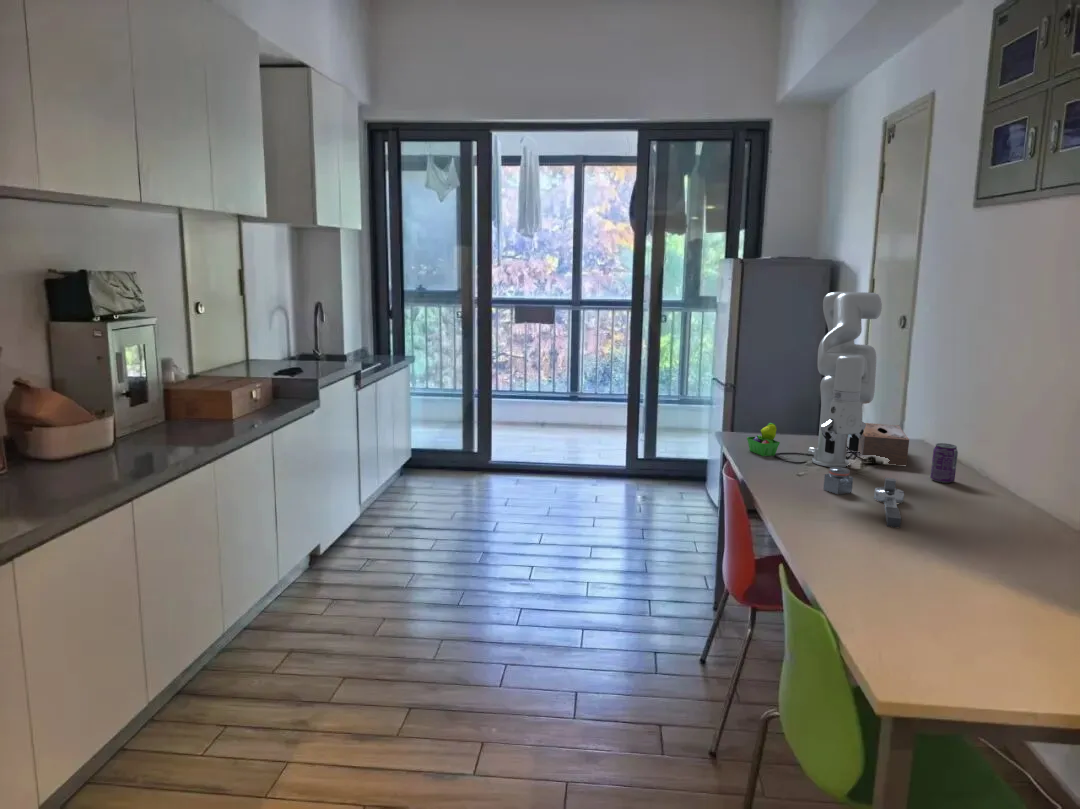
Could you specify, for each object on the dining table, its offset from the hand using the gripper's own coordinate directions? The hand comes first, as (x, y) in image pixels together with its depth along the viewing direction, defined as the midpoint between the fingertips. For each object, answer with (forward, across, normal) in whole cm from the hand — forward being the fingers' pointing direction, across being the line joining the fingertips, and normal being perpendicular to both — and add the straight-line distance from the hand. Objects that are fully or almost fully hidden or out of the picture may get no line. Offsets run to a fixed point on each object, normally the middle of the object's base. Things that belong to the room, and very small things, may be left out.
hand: (841, 451), depth 236 cm
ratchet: (+13, 0, -20) cm, 24 cm away
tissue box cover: (+12, +50, +29) cm, 59 cm away
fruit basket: (+12, +12, +48) cm, 51 cm away
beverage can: (+12, +43, -2) cm, 45 cm away
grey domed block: (+13, +1, +1) cm, 13 cm away
